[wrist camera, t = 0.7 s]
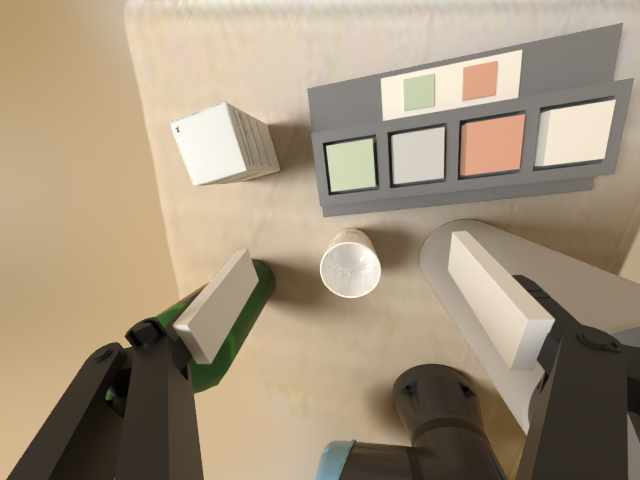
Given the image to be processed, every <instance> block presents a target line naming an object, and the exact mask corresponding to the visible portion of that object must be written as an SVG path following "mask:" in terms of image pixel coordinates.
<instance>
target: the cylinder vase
mask: <svg viewBox="0 0 640 480" xmlns="http://www.w3.org/2000/svg"><path fill="white" fill-rule="evenodd" d="M458 231H467V232H468V233H469V234H470V235H471V236H472V237H473V238H474V239H475V240H476V241H477V242H478V243H479V244H480V245H481V246H482V247H483V248H484V249H485V250H486V251H487V252H488V253H489V254H490V255H491V256H492V257H493V258H494V259H495V260H496V261H497V262H498V263H499V264H500V265H501V266H502V267H503V268H504V269H505V270H506V271H507V272H508V273H509V274H510V275H523V276H525V277H527V278H529V279H531V280H532V281H534V282H535V283H537V284H538V285H539V286H540V287H541V288H542V289H543V291H545V292H546V293H548V294H549V295H550V296H551V298H552V299H554V300H555V301H556V302H557V303H559V304H560V305H561V306H562V307H563V308H564V309H565V310H566V311H567V312H569V313H570V314H571V315H572V316H573V317H574V318H575V319H576V320H577V321H578V322H580V323H581V324H582V325H586V326H590V327H594V328H597V329H599V330H602V331H604V332H606V333H608V334H610V335H611V336H613V337H614V338H616V339H617V340H618V341H619V342H620V343H621V344H624V345H629V346H634V347H639V348H640V284H637V283H635V282H632V281H630V280H627V279H625V278H622V277H620V276H617V275H615V274H612V273H610V272H607V271H605V270H602V269H600V268H597V267H595V266H592V265H589V264H587V263H584V262H582V261H579V260H577V259H574V258H572V257H569V256H567V255H564V254H562V253H559V252H557V251H554V250H552V249H549V248H547V247H544V246H542V245H539V244H537V243H534V242H532V241H529V240H527V239H524V238H522V237H519V236H516V235H514V234H511V233H509V232H506V231H504V230H501V229H499V228H496V227H494V226H491V225H489V224H486V223H484V222H481V221H477V220H458V221H453V222H450V223H447V224H445V225H443V226H441V227H439V228H438V229H436V230H435V231H434V232H433V233H432V234H431V235H430V236H429V237H428V238H427V239H426V241H425V242H424V244H423V246H422V249H421V252H420V257H419V264H420V269H421V272H422V274H423V276H424V278H425V279H426V281H427V282H428V284H429V285H430V287H431V289H432V290H433V292H434V293H435V295H436V296H437V298H438V299H439V301H440V303H441V304H442V306H443V307H444V309H445V310H446V312H447V313H448V315H449V316H450V318H451V320H452V321H453V323H454V324H455V326H456V327H457V329H458V330H459V332H460V333H461V335H462V337H463V338H464V340H465V341H466V343H467V344H468V346H469V347H470V349H471V351H472V352H473V354H474V355H475V357H476V358H477V360H478V361H479V363H480V364H481V366H482V368H483V369H484V371H485V372H486V374H487V375H488V377H489V378H490V380H491V381H492V383H493V385H494V386H495V388H496V389H497V391H498V392H499V394H500V395H501V397H502V399H503V400H504V402H505V403H506V405H507V406H508V408H509V409H510V411H511V412H512V414H513V416H514V417H515V419H516V420H517V422H518V423H519V425H520V426H521V428H522V429H523V431H524V433H525V434H526V436H527V434H528V430H529V426H530V423H531V419H532V415H533V411H534V407H535V403H536V400H537V396H538V392H539V389H537V387H538V385H539V383H540V381H541V379H542V376H543V374H544V372H545V370H544V369H543V368H542V366H541V365H540V364H539V363H538V361H537V362H536V365H535V367H534V369H533V371H510V370H509V368H508V366H507V365H506V363H505V361H504V360H503V358H502V357H501V355H500V353H499V352H498V350H497V349H496V347H495V345H494V344H493V342H492V341H491V339H490V337H489V336H488V334H487V332H486V331H485V329H484V328H483V326H482V324H481V323H480V321H479V320H478V318H477V316H476V315H475V313H474V312H473V310H472V308H471V307H470V305H469V303H468V302H467V300H466V299H465V297H464V295H463V294H462V292H461V291H460V289H459V287H458V286H457V284H456V283H455V281H454V279H453V278H452V276H451V274H450V273H449V271H448V264H449V255H450V247H451V238H452V232H458ZM627 420H628V480H640V442H639V440H638V437H637V435H636V432H635V430H634V427H633V425H632V422H631V420H630V417H629V415H628V412H627Z"/></svg>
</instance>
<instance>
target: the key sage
mask: <svg viewBox="0 0 640 480" xmlns="http://www.w3.org/2000/svg"><path fill="white" fill-rule="evenodd" d="M326 149H327V158H328V166H329V175H330V184H331V192H334V191H342V190H350V189H359V188H367V187H375V170H374V154H373V138H372V139H366V140H360V141H354V142H347V143H341V144H335V145H328V146H326Z"/></svg>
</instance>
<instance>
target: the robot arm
mask: <svg viewBox="0 0 640 480" xmlns="http://www.w3.org/2000/svg"><path fill="white" fill-rule="evenodd" d="M448 271H449V273H450V274H451V276H452V278H453V279H454V281H455V283H456V284H457V286H458V287H459V289H460V291H461V292H462V294H463V295H464V297H465V299H466V300H467V302H468V303H469V305H470V307H471V308H472V310H473V312H474V313H475V315H476V316H477V318H478V320H479V321H480V323H481V324H482V326H483V328H484V329H485V331H486V332H487V334H488V336H489V337H490V339H491V341H492V342H493V344H494V345H495V347H496V349H497V350H498V352H499V353H500V355H501V357H502V358H503V360H504V361H505V363H506V365H507V366H508V368H509V370H510V371H533V369H534V367H535V365H536V362H537V361H538V363H539V364H540V365H541V366H542V368H543V369H544V370H545V372H544V374H543V376H542V379H541V381H540V383H539V385H538V387H537V389H539V392H538V396H537V400H536V403H535V407H534V411H533V415H532V419H531V423H530V426H529V430H528V434H527V438H526V442H525V446H524V450H523V453H522V457H521V461H520V465H519V469H518V473H517V476H516V480H628V420H627V412H628V415H629V417H630V420H631V422H632V425H633V427H634V430H635V432H636V435H637V437H638V440H639V442H640V348H639V347H634V346H629V345H624V344H621V343H620V342H619V341H618V340H617V339H616V338H614V337H613V336H611V335H610V334H608V333H606V332H604V331H602V330H599V329H597V328H594V327H590V326H586V325H582V324H581V323H580V322H578V321H577V320H576V319H575V318H574V317H573V316H572V315H571V314H570V313H569V312H567V311H566V310H565V309H564V308H563V307H562V306H561V305H560V304H559V303H557V302H556V301H555V300H554V299H552V298H551V296H550V295H549V294H548V293H546V292H545V291H543V289H542V288H541V287H540V286H539V285H538V284H537V283H535V282H534V281H532V280H531V279H529V278H527V277H525V276H523V275H510V274H509V273H508V272H507V271H506V270H505V269H504V268H503V267H502V266H501V265H500V264H499V263H498V262H497V261H496V260H495V259H494V258H493V257H492V256H491V255H490V254H489V253H488V252H487V251H486V250H485V249H484V248H483V247H482V246H481V245H480V244H479V243H478V242H477V241H476V240H475V239H474V238H473V237H472V236H471V235H470V234H469V233H468V232H467V231H458V232H452V238H451V247H450V255H449V264H448ZM258 281H259V279H258V277H257V274H256V271H255V268H254V265H253V263H252V260H251V257H250V254H249V251H248V249H240V250H237V251H236V252H235V253H234V254H233V256H232V257H231V258H230V259H229V260H228V261H227V263H226V264H225V265H224V266H223V267H222V268H221V269H220V271H219V272H218V273H217V274H216V275H215V276H214V278H213V279H212V280H211V281H210V282H209V283H208V285H207V286H206V287H205V288H204V289H203V290H202V291H199V292H198V293H197V294H195V295H194V296H193V297H192V298H191V299H190V300H189V301H188V302H187V303H186V305H184V307H183V308H182V309H181V310H180V311H179V312H178V313H177V314H176V316H175V317H174V318H173V319H172V320H171V321H170V322H169V323H168V325H167V326H166V327H165V328H164V327H163V325H162V324H161V322H160V321H159V319H158V318H156V317H152V318H147V319H144V320H142V321H140V322H139V323H137V324H135V325H134V326H133V327H132V328H130V330H129V331H128V332H127V333H126V335H125V338H126V339H127V340H128V341H129V343H130V344H131V345H132V347H129V348H125V349H124V348H123V347H122V346H121V345H120V344H119V343H117V342H115V343H110V344H107V345H105V346H103V347H101V348H100V349H98V350H96V351H95V352H94V353H93V354H92V355H91V356H90V357H89V358H88V359H87V360H86V361H85V363H84V364H83V366H82V368H81V369H80V370H79V372H78V373H77V375H76V376H75V378H74V379H73V381H72V382H71V384H70V385H69V387H68V388H67V390H66V391H65V393H64V394H63V396H62V397H61V399H60V400H59V402H58V403H57V405H56V406H55V408H54V409H53V411H52V412H51V414H50V415H49V417H48V418H47V420H46V421H45V423H44V424H43V426H42V427H41V429H40V430H39V432H38V433H37V435H36V436H35V438H34V439H33V441H32V442H31V443H30V445H29V447H28V448H27V449H26V451H25V452H24V454H23V455H22V457H21V458H20V460H19V461H18V463H17V464H16V466H15V467H14V469H13V471H12V472H11V474H10V475H9V476H8V478H7V479H6V480H114V479H115V480H204V479H203V469H202V461H201V452H200V443H199V435H198V427H197V418H196V410H195V401H194V392H193V384H192V375H191V368H190V365H189V364H188V362H189V360H190V359H191V357H193V358H194V360H195V361H196V363H197V364H211V363H212V361H213V359H214V358H215V356H216V354H217V352H218V351H219V349H220V347H221V345H222V344H223V342H224V340H225V338H226V337H227V335H228V333H229V331H230V330H231V328H232V326H233V324H234V323H235V321H236V319H237V318H238V316H239V314H240V312H241V311H242V309H243V307H244V305H245V304H246V302H247V300H248V298H249V297H250V295H251V293H252V291H253V290H254V288H255V286H256V284H257V283H258ZM107 391H109V392H110V393H111V395H110V397H109V399H108V400H106V394H107ZM393 400H394V405H395V409H396V412H397V414H398V416H399V418H400V420H401V422H402V424H403V426H404V428H405V430H406V432H407V434H408V436H409V438H410V440H411V443H412V447H407V446H399V445H387V444H375V443H364V442H357V441H356V440H352V441H332V442H330V443H329V444H328V445H327V446H326V447H325V449H324V451H323V453H322V455H321V458H320V461H319V465H318V469H317V473H316V477H315V480H508V479H507V477H506V475H505V473H504V471H503V469H502V467H501V465H500V463H499V461H498V459H497V457H496V455H495V453H494V451H493V449H492V447H491V445H490V443H489V441H488V439H487V437H486V435H485V432H484V426H483V420H482V414H481V408H480V403H479V399H478V396H477V394H476V392H475V390H474V388H473V387H472V385H471V383H470V381H469V380H468V379H467V378H466V377H465V376H464V375H463V374H461V373H460V372H458V371H456V370H454V369H452V368H449V367H446V366H441V365H422V366H417V367H414V368H412V369H409V370H408V371H406V372H404V373H403V374H402V375H401V376H400V377H399V378H398V379H397V380H396V382H395V384H394V387H393Z"/></svg>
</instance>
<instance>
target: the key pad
mask: <svg viewBox="0 0 640 480" xmlns="http://www.w3.org/2000/svg"><path fill="white" fill-rule="evenodd" d="M622 26H623V23H620V24H616V25H611V26H606V27H601V28H596V29H592V30H587V31H582V32H577V33H572V34H568V35H563V36H558V37H553V38H548V39H544V40H539V41H534V42H529V43H525V44H520V45H515V46H510V47H505V48H501V49H496V50H491V51H486V52H481V53H477V54H472V55H467V56H462V57H457V58H453V59H448V60H443V61H438V62H433V63H429V64H424V65H419V66H414V67H409V68H405V69H400V70H395V71H390V72H385V73H381V74H376V75H371V76H366V77H362V78H357V79H352V80H347V81H342V82H338V83H333V84H328V85H323V86H318V87H314V88H309V89H307V90H308V98H309V106H310V114H311V122H312V130H313V133H311V138H312V146H313V154H314V161H315V169H316V177H317V185H318V192H319V200H320V206H322V208H323V216H324V217H330V216H340V215H349V214H359V213H369V212H379V211H389V210H399V209H408V208H418V207H428V206H438V205H448V204H457V203H467V202H477V201H487V200H497V199H506V198H516V197H526V196H536V195H546V194H555V193H565V192H575V191H585V190H592V185H593V180H594V176H599V175H608V174H614V171H615V166H616V161H617V156H618V152H619V147H620V142H621V137H622V133H623V128H624V123H625V118H626V114H627V109H628V104H629V99H630V95H631V90H632V85H633V80H634V78H631V79H625V80H619V81H613V82H612V79H613V73H614V68H615V63H616V57H617V52H618V47H619V42H620V36H621V31H622ZM611 100H616V102H615V107H614V112H613V117H612V122H611V127H610V132H609V137H608V143H607V148H606V153H605V158H604V159H597V160H589V161H580V162H572V163H564V164H556V165H548V166H534V158H535V149H536V141H537V132H538V124H539V115H540V113H543V112H546V111H549V110H554V109H561V108H567V107H573V106H580V105H586V104H592V103H598V102H605V101H611ZM523 114H525V120H524V130H523V140H522V150H521V160H520V169H515V170H507V171H498V172H490V173H482V174H474V175H465V176H464V175H460V151H461V126H462V125H465V124H467V123H473V122H479V121H485V120H492V119H498V118H504V117H511V116H517V115H523ZM441 127H445V131H444V178H441V179H433V180H424V181H416V182H408V183H400V184H393V172H392V148H391V137H392V136H393V135H398V134H404V133H410V132H416V131H423V130H429V129H435V128H441ZM372 138H373V154H374V170H375V187H367V188H359V189H350V190H342V191H334V192H331V184H330V175H329V166H328V158H327V149H326V146H328V145H335V144H341V143H347V142H354V141H360V140H366V139H372Z"/></svg>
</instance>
